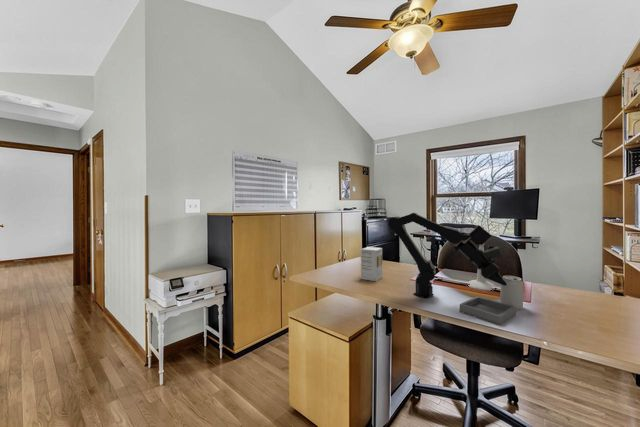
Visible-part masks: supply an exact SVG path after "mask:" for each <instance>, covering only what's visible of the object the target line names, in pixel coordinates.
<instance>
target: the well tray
mask: <svg viewBox="0 0 640 427" xmlns="http://www.w3.org/2000/svg"><path fill="white" fill-rule="evenodd" d="M459 312H460V313H462V312H463V313H462V314H465V315H468V314H469V315H468V316H472V317H474V316H475V317H474V318H478V319H480V320H482V321H483V320H484V321H486V322H489V323H492V324H495V325H498V326H501V325H503V324H505V323H506V322H507V321H509V320H511V319H512V318H513V317H515V316H516V315H517V310H516V307H515V306H512V305H508V304H504V303H500V301H496V300H492V299H490V298H485V297H482V296H477V295H476V296H474V297H472V298H470V299H468V300H466V301H463V302H461V303H459Z"/></svg>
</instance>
